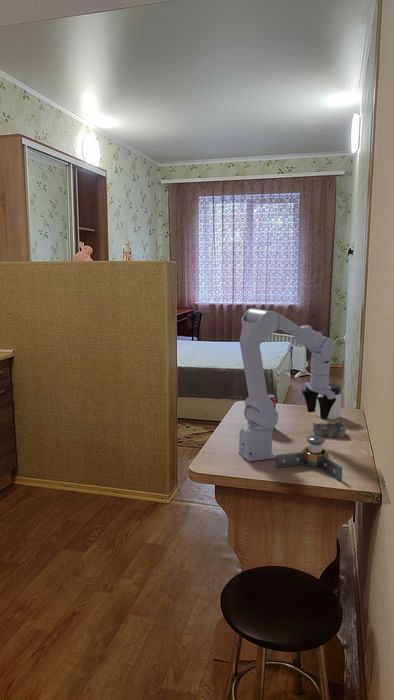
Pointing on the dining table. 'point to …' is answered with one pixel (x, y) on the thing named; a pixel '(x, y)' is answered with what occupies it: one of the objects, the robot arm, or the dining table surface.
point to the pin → (315, 444)
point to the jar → (336, 406)
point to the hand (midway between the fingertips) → (317, 415)
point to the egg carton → (329, 429)
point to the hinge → (310, 461)
